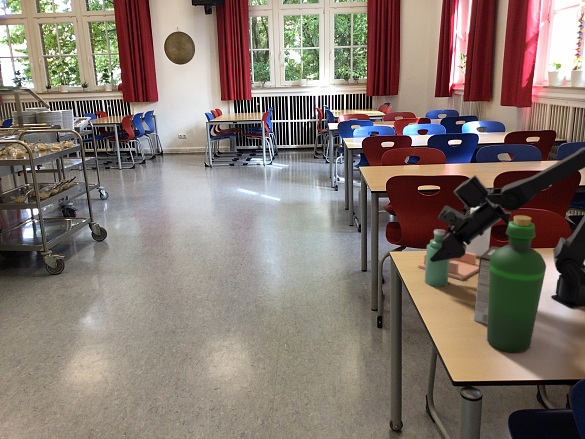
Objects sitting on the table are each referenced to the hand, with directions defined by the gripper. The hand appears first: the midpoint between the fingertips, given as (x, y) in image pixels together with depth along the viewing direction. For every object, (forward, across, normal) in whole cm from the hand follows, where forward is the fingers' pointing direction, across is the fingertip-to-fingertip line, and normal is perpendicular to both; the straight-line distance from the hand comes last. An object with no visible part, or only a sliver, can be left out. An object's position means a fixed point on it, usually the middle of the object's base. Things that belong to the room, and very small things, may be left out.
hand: (433, 255), depth 135 cm
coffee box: (-6, +16, +18) cm, 25 cm away
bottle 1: (+5, 0, +6) cm, 8 cm away
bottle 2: (-9, +28, +20) cm, 35 cm away
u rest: (+3, -13, +8) cm, 16 cm away
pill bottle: (-1, -29, +12) cm, 31 cm away
